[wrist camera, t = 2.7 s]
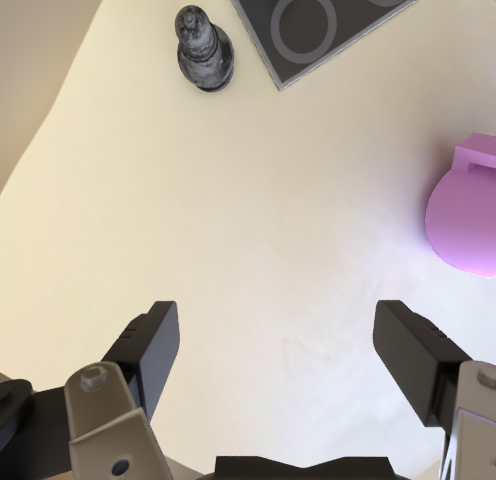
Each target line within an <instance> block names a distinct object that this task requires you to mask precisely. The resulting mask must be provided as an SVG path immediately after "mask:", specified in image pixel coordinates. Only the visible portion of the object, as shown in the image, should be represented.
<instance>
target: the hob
mask: <svg viewBox="0 0 496 480" xmlns="http://www.w3.org/2000/svg"><path fill="white" fill-rule="evenodd" d="M416 1H417V0H232V2H233V4H234V6H235V8H236V10H237V12H238V14H239V15H240V17H241V19H242V21H243V23H244V25H245V27H246V29H247V31H248V32H249V34H250V36H251V38H252V40H253V42H254V44H255V46H256V48H257V50H258V51H259V53H260V55H261V57H262V59H263V61H264V63H265V65H266V67H267V69H268V70H269V72H270V74H271V76H272V78H273V80H274V82H275V84H276V86H277V87H278V89H279V91H280V92H281V91H282V90H284V89H285V88H287V87H288V86H290V85H291V84H293V83H294V82H296V81H297V80H299V79H300V78H302V77H303V76H305V75H306V74H308V73H309V72H311V71H312V70H314V69H315V68H317V67H318V66H320V65H321V64H323V63H324V62H326V61H327V60H329V59H330V58H332V57H333V56H335V55H336V54H338V53H339V52H341V51H342V50H344V49H345V48H347V47H348V46H350V45H351V44H353V43H354V42H356V41H357V40H359V39H360V38H362V37H363V36H365V35H366V34H368V33H369V32H371V31H372V30H374V29H375V28H377V27H378V26H380V25H381V24H383V23H384V22H386V21H387V20H389V19H390V18H392V17H393V16H395V15H396V14H398V13H399V12H401V11H402V10H404V9H405V8H407V7H408V6H410V5H411V4H413V3H414V2H416Z"/></svg>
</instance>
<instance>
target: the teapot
mask: <svg viewBox="0 0 496 480" xmlns="http://www.w3.org/2000/svg"><path fill="white" fill-rule="evenodd" d="M425 228H426V234H427V237H428V240H429V242H430V244H431V246H432V248H433V249H434V251H435V252H436V254H437V255H438V256H439V257H440V258H441V259H442V260H443V261H444V262H446V263H447V264H449V265H451V266H452V267H454V268H456V269H459V270H461V271H464V272H467V273H470V274H474V275H478V276H484V277H491V278H496V137H494V136H489V135H484V134H479V133H473V134H472V135H470V136H469V137H468V138H466V139H465V140H463V141H462V142H461V143H459V144H458V145H456V148H455V153H454V158H453V163H452V168H451V169H450V170H449V171H448V172H447V173H446V174H445V175H444V176H443V177H442V179H441V180H440V181H439V183H438V184H437V185H436V187H435V189H434V191H433V192H432V194H431V197H430V199H429V202H428V205H427V208H426V214H425Z"/></svg>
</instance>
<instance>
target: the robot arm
mask: <svg viewBox="0 0 496 480" xmlns="http://www.w3.org/2000/svg"><path fill="white" fill-rule="evenodd" d="M179 342H180V334H179V323H178V312H177V304H176V302H175V301H156V302H155V303H154V304H153V306H152V307H151V309H150V310H149V312H148V313H147V314H140V315H139V316H138V317H136V318H135V319H133V320H132V321H131V322H130V323H129V324H128V325H127V327H126V328H125V329H124V331H123V332H122V333H121V335H120V336H119V338H118V339H117V340H116V341H115V343H114V344H113V345H112V347H111V348H110V349H109V351H108V352H107V353H106V354H105V356H104V357H103V358H102V360H101V361H100V362H97V363H93V364H90V365H88V366H85V367H83V368H81V369H80V370H78V371H77V372H75V373H74V374H73V375H72V376H71V377H70V378H69V379H68V380H67V382H66V384H65V386H62V387H58V388H54V389H49V390H45V391H41V392H37V393H34V392H33V388H32V385H31V383H30V382H29V381H27V380H24V379H14V380H9V381H5V382H2V383H0V480H47V479H48V478H49V477H52V476H55V475H58V474H61V473H64V472H68V471H71V470H72V473H73V480H174V478H173V475H172V473H171V471H170V469H169V466H168V464H167V462H166V460H165V458H164V455H163V453H162V451H161V448H160V446H159V444H158V442H157V439H156V437H155V435H154V433H153V431H152V428H151V426H150V421H151V419H152V416H153V414H154V411H155V409H156V406H157V403H158V401H159V398H160V396H161V393H162V391H163V388H164V386H165V383H166V380H167V378H168V375H169V373H170V370H171V368H172V365H173V363H174V360H175V357H176V355H177V352H178V349H179ZM373 344H374V347H375V350H376V352H377V354H378V355H379V357H380V358H381V360H382V361H383V363H384V364H385V366H386V367H387V369H388V371H389V372H390V374H391V375H392V377H393V378H394V380H395V381H396V383H397V384H398V386H399V388H400V389H401V391H402V392H403V394H404V395H405V397H406V398H407V400H408V401H409V403H410V405H411V406H412V408H413V409H414V411H415V412H416V414H417V415H418V417H419V418H420V420H421V422H422V423H423V425H424V426H425V427H442V428H443V429H444V431H445V436H444V440H443V447H442V455H441V464H440V472H439V480H496V365H493V364H490V363H486V362H482V361H474V360H473V359H472V358H471V357H470V356H468V355H467V354H466V353H465V352H464V351H463V350H462V349H461V348H460V347H459V346H457V345H456V344H455V343H454V342H453V341H452V340H451V339H450V338H447V336H446V335H445V334H444V333H443V332H442V331H441V330H439V328H437V327H436V326H435V325H434V324H433V323H432V322H431V321H430V320H428V319H426V318H425V317H423V316H421V315H419V314H417V313H413V312H412V311H411V310H410V309H409V308H408V307H407V306H406V305H405V304H404V303H403V302H402V301H400V300H379V301H378V302H377V305H376V312H375V320H374V329H373ZM196 480H410V479H408V478H405V477H403V476H400V475H397V474H395V473H394V471H393V468H392V466H391V464H390V462H389V460H388V457H342V458H338V459H335V460H332V461H328V462H325V463H321V464H318V465H314V466H311V467H307V468H299V467H295V466H292V465H288V464H284V463H281V462H277V461H273V460H270V459H266V458H263V457H259V456H216V464H215V472H213V473H210V474H207V475H205V476H202V477H200V478H198V479H196Z"/></svg>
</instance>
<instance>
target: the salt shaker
mask: <svg viewBox="0 0 496 480" xmlns="http://www.w3.org/2000/svg"><path fill="white" fill-rule="evenodd" d="M175 30H176V34H177V36H178V38H179V44H178V51H177V56H178V63H179V66H180V69H181V71H182V72H183V74H184V76H185V77H186V78H187V79H188V80H189V81H190V82H191V83H193V84H195V85H196V86H197V87H198V88H200V89H201V90H203V91H207V92H216V91H219V90H221V89H223V88H224V87H225V86H226V85H227V84H228V83H229V81H230V79H231V77H232V74H233V62H234V50H233V47H232V43H231V41H230V39H229V37H228V35H227V34H226V33H225V32H224V31H223V30H222V29H221V28H219V27H218V26H216V25H214V24H212V23H211V22H210V21H209V19H208V17H207V15H206V13H205V12H204V11H203V10H202V9H201V8H199V7H198V6H194V5H188V6H186V7H184V8H182V9H181V10H180V11H179V13H178V14H177V17H176V20H175Z"/></svg>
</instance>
